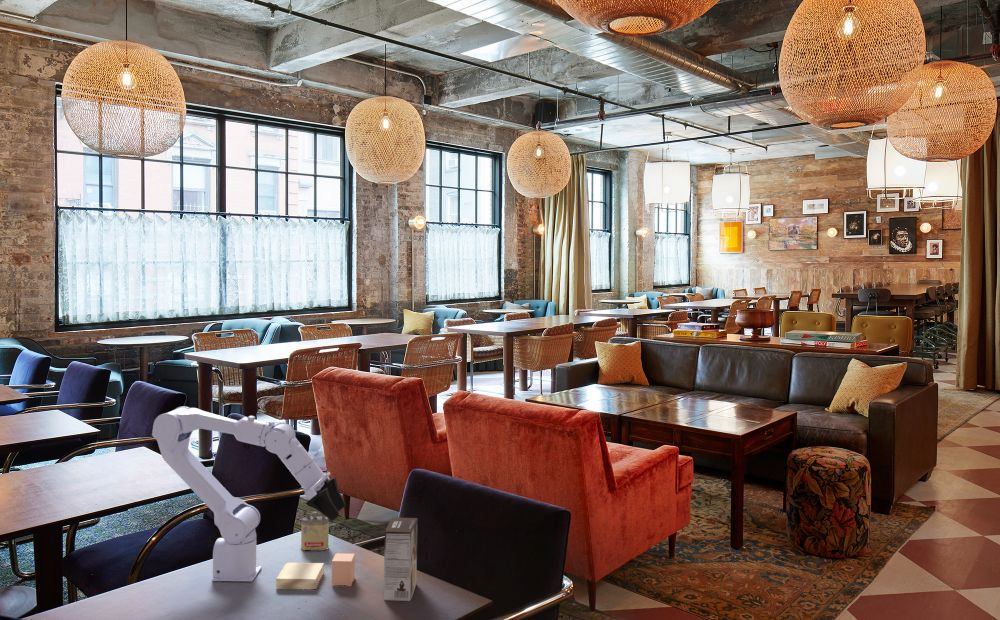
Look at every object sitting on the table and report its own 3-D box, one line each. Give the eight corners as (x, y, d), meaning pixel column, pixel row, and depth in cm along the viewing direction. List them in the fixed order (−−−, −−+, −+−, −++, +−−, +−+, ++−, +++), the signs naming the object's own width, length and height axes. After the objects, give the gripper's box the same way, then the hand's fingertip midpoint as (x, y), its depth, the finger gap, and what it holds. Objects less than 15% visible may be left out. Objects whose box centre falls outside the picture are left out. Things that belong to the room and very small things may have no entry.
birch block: (276, 591, 169) (276, 578, 169) (286, 574, 178) (286, 562, 178) (315, 591, 169) (315, 579, 169) (323, 575, 178) (323, 563, 178)
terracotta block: (331, 586, 172) (332, 561, 171) (335, 577, 176) (335, 553, 176) (351, 586, 172) (351, 561, 171) (354, 578, 176) (354, 553, 176)
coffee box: (390, 582, 174) (391, 516, 173) (417, 583, 174) (418, 517, 173) (383, 600, 165) (384, 530, 164) (411, 601, 165) (412, 531, 164)
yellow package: (299, 551, 191) (300, 513, 190) (302, 545, 195) (302, 508, 194) (327, 550, 192) (328, 513, 191) (329, 545, 196) (329, 508, 195)
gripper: (309, 464, 167) (346, 511, 167) (323, 451, 181) (357, 494, 181) (284, 483, 166) (322, 530, 167) (301, 468, 181) (335, 511, 181)
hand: (339, 513), depth 174 cm, fingers open, 7 cm apart
